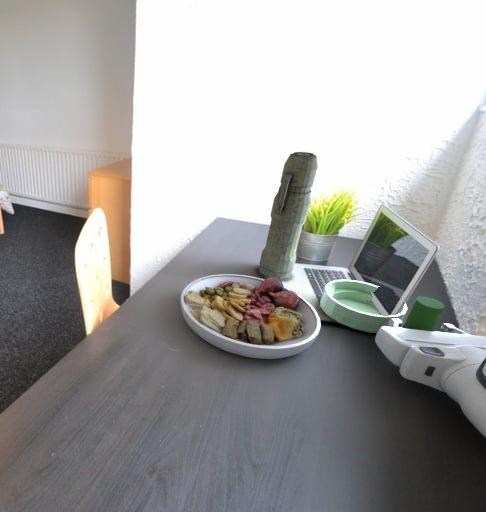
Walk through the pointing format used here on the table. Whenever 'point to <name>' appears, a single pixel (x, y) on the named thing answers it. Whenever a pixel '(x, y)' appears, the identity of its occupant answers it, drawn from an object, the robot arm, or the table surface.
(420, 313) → the green cylinder
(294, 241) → the thermos
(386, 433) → the table surface
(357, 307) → the bowl
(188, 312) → the bowl
